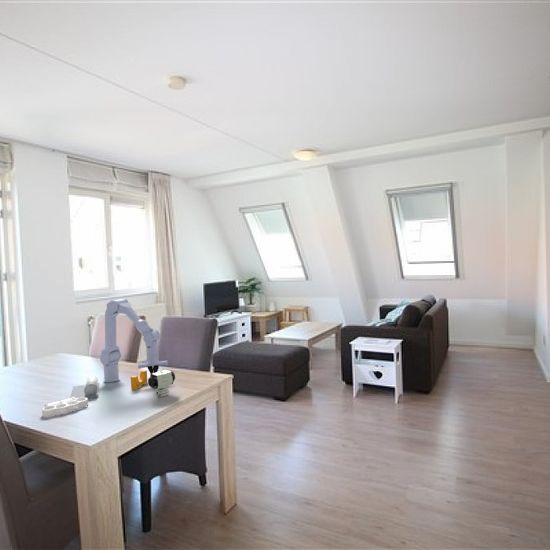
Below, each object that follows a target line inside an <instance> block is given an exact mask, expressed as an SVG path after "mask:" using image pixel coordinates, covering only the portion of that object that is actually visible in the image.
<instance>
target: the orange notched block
mask: <svg viewBox="0 0 550 550" xmlns="http://www.w3.org/2000/svg"><path fill="white" fill-rule="evenodd" d="M146 382H147V383H148V370H146V369H143V370H140V374H139V376H138V375H132V376H130V387H131V388H130V389H132V390H131V391H136V389H137V390H138V389H140V388H141V387H143V386H144V385H145V383H146ZM147 383H146V384H147ZM143 384H144V385H143ZM142 385H143V386H142ZM140 386H141V387H140ZM139 387H140V388H139Z"/></svg>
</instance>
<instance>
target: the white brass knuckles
mask: <svg viewBox="0 0 550 550" xmlns="http://www.w3.org/2000/svg"><path fill="white" fill-rule="evenodd" d="M87 405H88V406H89V399H88V398H75V397H71V398H70V397H69V398H67V399H62V400H58V401H54V402H51V403H50V402H49V403H46V404H44V407H43V408H41V412H42V413H41V414H42V415H41V416H42V418H52V417H55V415H56V416H62V415H61V414H63V415H67V414H69V413H68V412H70V413H73V412H72V411H74V412H77V411H79V410H81V409H83V408H82V407H85V408H87V407H88V406H87ZM86 406H87V407H86ZM80 408H81V409H80ZM78 409H79V410H78ZM76 410H77V411H76ZM66 413H67V414H66ZM51 416H52V417H51Z"/></svg>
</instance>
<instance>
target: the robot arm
mask: <svg viewBox="0 0 550 550" xmlns="http://www.w3.org/2000/svg"><path fill="white" fill-rule="evenodd" d="M120 314H121V315H122V314H123V315H126V316H127V317H128V318H129V319H130V321H132V322H133V323H134V325H135V329H137V331H138V332H139V333H140V334H141V335H142V339H143V341H144V343H145V347H146V351H145V352H146V362H143V363H138V364H137V369H144V368H147V369H148V370H147V371H148V372H149V374H153V373H156V372H159V369H160V368H159V367H160V366H168V365H169V363H168V362H169V361H168V360H159V345H158V344H159V343H158V341H159V340H160V337H161V336H160V335H161V334H160V332H159V330H157V329H154V328H153V327H152V326H150V325H149V324H148V321H147V320H145V319H141V317H140V316H139V315H138V314H137V313H136V311H135V310H134V309H133V308H132V304H131V302H129V300H127V298H121V299H115V300H114V299H113V300H110V301H109V302H107V303H106V309H105V312H104V343H105V344H104V347H103V348H102V349H101V351H100V352H101V353H100V356H99V361H100V363H101V364H102V366H103V376H104V377H103V383H105V382H106V383H111V382H118V381H119V382H120V379H121V378H120V374H119V373H120V372H119V371H120V370H119V361H120V359H121V358H122V353H121V351H120V350H121V349H120V347H119V346H118V345H117V316H118V315H120Z"/></svg>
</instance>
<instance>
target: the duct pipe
mask: <svg viewBox="0 0 550 550" xmlns="http://www.w3.org/2000/svg"><path fill="white" fill-rule="evenodd" d="M98 381H99V379H98V377H97V376H95V375H89V377H87V379H86V384H83V385H75V386H73V387H72V390H71V393H70V396H69V398H71V397H75V398H88V400H92V399H91V398H94V399H98V398H99V394H98V393H100V392H99V391H100V382H98ZM97 397H98V398H97Z"/></svg>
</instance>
